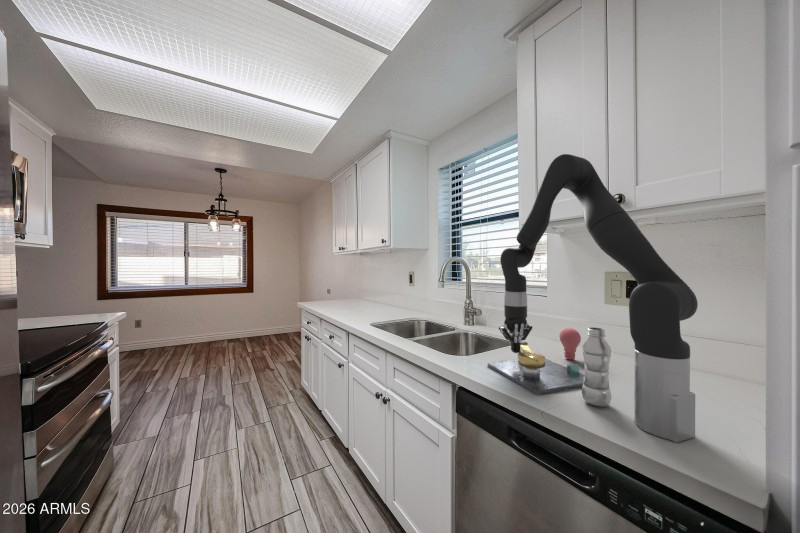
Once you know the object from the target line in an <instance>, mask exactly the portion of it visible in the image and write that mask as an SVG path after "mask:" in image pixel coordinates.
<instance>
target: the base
mask: <svg viewBox="0 0 800 533" xmlns="http://www.w3.org/2000/svg"><path fill="white" fill-rule="evenodd" d="M487 367H488V368H489V369H491V370H493V371H495V372H497V373H499V374H500V375H502V376H504V377H505V378H507V379H509V380H510V381H512V382H514V383H516V384H517V385H519V386H520V387H523V388H524V389H526V390H528V391H530V392H531V393H533V394H534V395H536V396H540V395H545V394H551V393H557V392H561V391H562V392H563V391H567V390H573V389H578V388H582V386H583V383H584V373H582V372H580V364H577V363H571V364H566V366H564V365H562V364H559V363H557V362H555V361H552V360H550V359H547V358H545V367H543V368H529V367H525V366H522V365H520V364H518V358H515V359H507V360H500V361H494V362H492V361H491V362H487Z"/></svg>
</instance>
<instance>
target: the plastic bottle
mask: <svg viewBox="0 0 800 533" xmlns="http://www.w3.org/2000/svg"><path fill="white" fill-rule="evenodd" d="M587 331H588V332H587V336H588V337H587V338H586V340H585V341H584V342H583V344H582V346H581V348H582V350H581V352H582V355H583V356H582V357H583V366H584V369H583V370H584V372H583V374H584V383H583V386H582V387H581V396H582V398H583V401H584V402H585V403H587V404H589V405H591V406H595V407H599V408H603V407H608V406H609V404H611V401H612V392H611V388H610V387H611V386H610V379H609V373H610V372H609V371H610V363H611V357H612V349H611V346H610V344H609V343H608V342H607V341H606V340H605V337H606V332H605V329H604V328H602V327H593V326H592V327H588V328H587Z"/></svg>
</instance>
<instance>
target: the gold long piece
mask: <svg viewBox="0 0 800 533" xmlns="http://www.w3.org/2000/svg"><path fill="white" fill-rule="evenodd" d="M517 359H518V364H520V365H522V366H525V367H529V368H543V367H545V359H546V356H545V355H542V354H541V353H537V352H533V351H532V350H531V348H530V347H529V345H528V342H527V341H521V342H520V351H519V353H517Z"/></svg>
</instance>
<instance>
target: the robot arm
mask: <svg viewBox="0 0 800 533" xmlns="http://www.w3.org/2000/svg"><path fill="white" fill-rule="evenodd" d="M545 172H546V173H545V174H544V177H543V180H542V181H541V185H540V187H539V190H538V193H537V195H536V198H535V200H534V202H533V205H532V207H531V210H530V211H529V214H528V215H527V217H526V219H525V221H524V222H523V224H522V227H521V228H520V229H519V231H518V233H517V235H516V241H517V242H518V244H519V246H518V247H506V248H504V249H503V251H502V252H501V254H500V265H501V270H502V273H503V276H504V277H503V278H504V284H505V285H504V306H503V307H504V314H503V315H504V318H505V320H504V322H503V323H504V324H503V325H502V326H499V327H498V331H500V334H502V335H503V337H504V338H505V340H506V341H509V342H510V350H511V352H512V353H514V354H519V351H520V342H523V341H525V340H527V338H528V336H529V334H530V333H531V332H532V330H533V326H532V325H530V324H529V323H528V321H527V318H528V295H527V277H526V276H525V275H523V274H520V271H519V269H521V268H525V267H527V266H528V265H529V264H530V263H531V261H532V260H533V257H534V255H535V252H536V248H537V245H538V243H539V242H540V241H541V239H542V237H543V235H544V234H545V232H546V231H547V229H548V227H549V224H550V221H551V219H550V218H551V213H552V207H553V205H554V202H555V200H556V198H557V197H558V195H559V194H560V192H561V191H562V190H563V189H565V190H569V192H571V193H572V194H573V195H574V196H575V197H576V199H577V200H578V201H579V203H580V205H581V206H582V210H583V217H584V218H583V219H584V224H585V227H586V229H587V231H588V233H589V235H590V236H591V237H592V240H594V242H595V244H596V245H597V246H598V247H599V248H600V249H601V250H602V251H603V253H605V254H606V255H607V256H609V257H610V258H611V259H612V260H613V261H615V262H616V263H618V264H619V265H620V266H622V267H623V268H625V270H626V271H627V272H628V273H629V274H630V275H632V277H633V278H634V280H635V282H636V283H637V284H638V285H637V286H636V287H634V288H633V290H632V291H631V293H630V296H629V300H628V302H629V303H628V316H629V318H628V319H629V332H630V337H631V338H632V341H633V343H634V423H635V424H636V426H637V427H638V428H640V429H641V430H643V431H644V432H646V433H649V434H651V435H654V436H655V437H656V436H657V437H659V438H662V439H667V440H669V441H672V442H674V443H680V442H683V441H688V440H690V439H695V438H696V393H694V392H692V391H691V346H690V345H689V343H688V342H687V341H685V340H684V339H683V338H682V335H681V321H685V320H688V319H690V318H692V317H693V316H694V315H695V314H696V312H697V311H698V307H699V306H698V304H699V303H698V299H697V296H696V294H695V292H694V291H693V290H692V289H691V287H690V286H689V285H688V284H687V283H686V282H685V281H684V279H682V278H681V277H680V276H679V275H678V274H677V273H676V272H675V271H674V270H673V269H672V268H671V267H670V265H668V264H667V263H666V261H665V260H663V258H662V257H661V256H660V255H659V253H658V252H657V251H656V249H655V248H654V247H653V245H652V244H651V243H650V241H649V240H648V239H647V237H646V236H645V235H644V234H643V232H642V231H641V229H640V228H639V227H638V225H637V224H636V222H635V221H634V220H633V219H632V218H631V216H630V215H629V213H628V212H627V211H626V210H625V209H624V208H623V207H622V206H621V204H620V203H619V201H618V200H616V198H615V197H614V196H613V194H612V193H611V192H610V191H609V190H608V189H607V188H606V186H605V185H604V183H603V181H602V179H601V178H600V177H599V174H598V173H597V171H596V169H595V167H594V166H593V164H592V163H591V162H590V161H589V160H588V159H586V158H583V157H580V156H576V155H573V154H569V153H568V154H567V153H564V154H560V155H558V156H557V157H555V158H554V159H553V160H552V162H550V165H548V169H547V170H546V171H545Z"/></svg>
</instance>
